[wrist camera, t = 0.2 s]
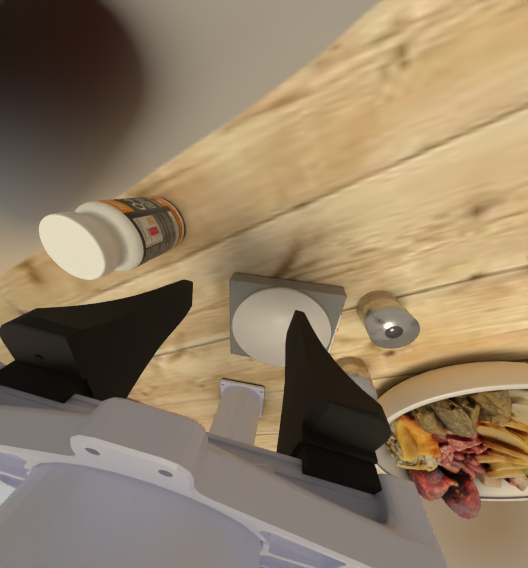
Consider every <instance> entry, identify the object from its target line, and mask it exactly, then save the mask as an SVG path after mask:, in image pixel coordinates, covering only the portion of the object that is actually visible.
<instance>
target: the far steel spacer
mask: <svg viewBox="0 0 528 568" xmlns="http://www.w3.org/2000/svg"><path fill="white" fill-rule="evenodd" d="M336 363H337V364H338V365H339V366H340V367H341V368H342V369H343V371H344V372H345V373H346V374H347V375H348V376H349V377H350V378H351V379H352V380H353V381H354V382H355V383H356V384H357V385H359V386H360V387H361V388H362V389H363V390H364V391H365V392H366V393H367V394H369V395H370V396H371V397H372V398H373V399H375V400H376V401H377V399H378V396H377V393H376V390H375V388H374V385H373V383H372V380H371V378H370V375H369V373H368V370H367V368H366V365H365V363H364V362H363V361H362V360H361V359H359V358H356V357H344V358H341V359H339V360H338V361H337V362H336Z"/></svg>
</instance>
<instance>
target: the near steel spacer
mask: <svg viewBox="0 0 528 568" xmlns="http://www.w3.org/2000/svg"><path fill="white" fill-rule="evenodd" d="M357 312H358V315H359V317H360V319H361V321H362V323H363V325H364V327H365V329H366V331H367V333H368V335H369V337H370V339H371V340H372V342H373V343H374V344H376V345H377V346H379V347H382V348H388V349H393V348H400V347H403V346H406V345H408V344H410V343H411V342H412V341H414V340H415V339H416V338H417V336H418V334H419V332H420V326H419V323H418V322H417V320H416V319H415V318H414V317H413V316H412V315H411V314H410V313H409V312H408V311H407V309H406V308H405V307H404V306H403V305H402V304H401V303H400V302H399V301H398V299H397V298H396V297H395V296H394V295H393V294H391V293H389V292H387V291H373V292H370V293H368V294H366V295H364V296H363V297H362V298H361V299H360V300H359V302H358V304H357Z"/></svg>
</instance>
